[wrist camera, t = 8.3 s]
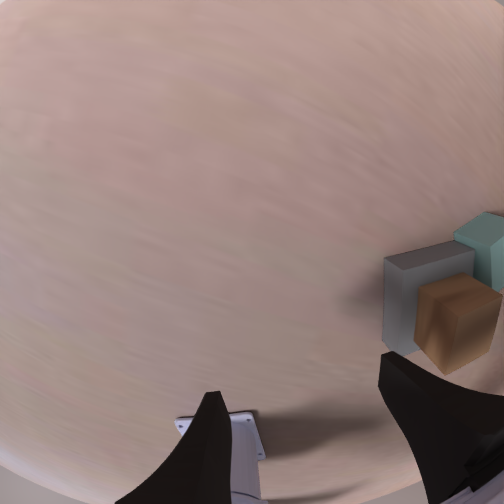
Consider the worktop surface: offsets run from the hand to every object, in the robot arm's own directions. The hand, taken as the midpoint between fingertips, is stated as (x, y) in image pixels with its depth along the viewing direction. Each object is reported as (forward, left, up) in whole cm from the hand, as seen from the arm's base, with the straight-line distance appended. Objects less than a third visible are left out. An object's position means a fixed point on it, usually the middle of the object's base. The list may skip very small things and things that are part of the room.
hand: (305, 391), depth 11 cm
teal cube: (0, -20, -10) cm, 23 cm away
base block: (-3, -13, -10) cm, 17 cm away
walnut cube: (-3, -13, -7) cm, 15 cm away
